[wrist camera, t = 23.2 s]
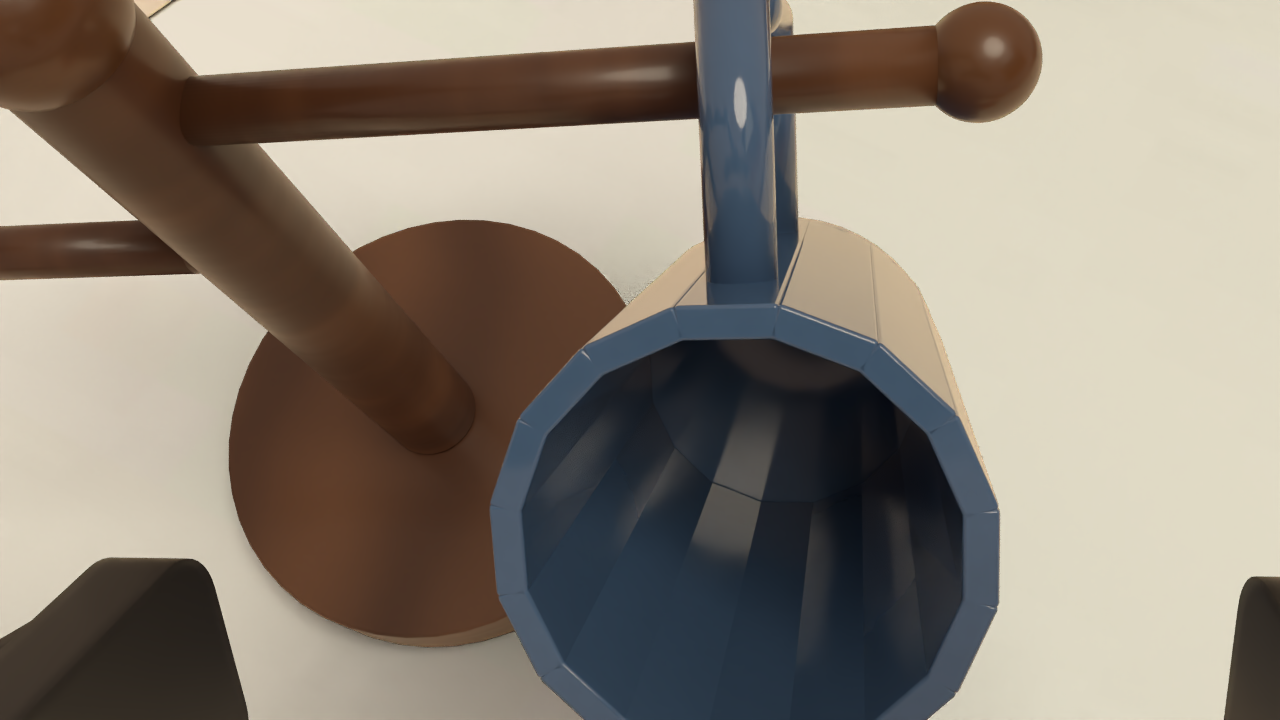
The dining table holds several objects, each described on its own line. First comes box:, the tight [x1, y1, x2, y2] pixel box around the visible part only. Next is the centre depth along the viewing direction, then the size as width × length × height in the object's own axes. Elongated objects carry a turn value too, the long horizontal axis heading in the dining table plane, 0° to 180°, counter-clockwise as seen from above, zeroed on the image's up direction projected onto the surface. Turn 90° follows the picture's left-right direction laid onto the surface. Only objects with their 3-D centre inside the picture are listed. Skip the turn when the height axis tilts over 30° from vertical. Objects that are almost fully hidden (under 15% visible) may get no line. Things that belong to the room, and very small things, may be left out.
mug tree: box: [0, 0, 1042, 647], centre depth 22 cm, size 22×11×18 cm, turn 87°
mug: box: [489, 0, 1000, 720], centre depth 17 cm, size 10×6×10 cm
